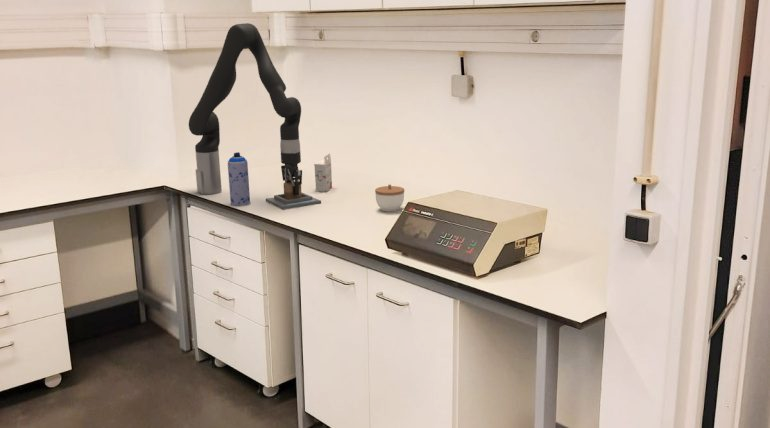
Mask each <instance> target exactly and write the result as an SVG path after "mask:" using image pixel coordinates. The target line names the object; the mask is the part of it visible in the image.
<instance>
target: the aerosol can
mask: <svg viewBox="0 0 770 428" xmlns="http://www.w3.org/2000/svg"><path fill="white" fill-rule="evenodd" d="M248 163H249V162H248V160H247V159H246V158H245V157H244V156H242V155H241V152H237V151H236V152H233V156H232V157H230V158H229V159H228V160H227V171H228V172H227V174H228V185H229V186H228V187H229V197H230V202H229V205H230V206H232V207H245V206H246V207H247V206H250V205H251V203H252V202H251V194H250V178H249V167H248V166H249V165H248Z"/></svg>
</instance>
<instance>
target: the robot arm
mask: <svg viewBox="0 0 770 428" xmlns="http://www.w3.org/2000/svg"><path fill="white" fill-rule="evenodd" d="M247 49H248V50H249V51H250V53H251V54H252V55H253V57H254V59H255V62H256V66H257V71H258V77H259V78H260V81H261V83H262V85H263V87H264V88H265V90H266V92H267V93H268V95H269V98H270V101H271V103H272V107H273V110H274V111H275V113H276V114H277V115H278V116H279V117H281V118H284V122H283V123H282V124H280V128H279V134H280V137H279V138H280V146H279V147H280V162H281V165H280V168H281V175H282V176H281V177H282V181H284V183H288V182H292V184H293V195H294V196H296V195H299V185H301V186H302V185H303V184H302V183H303V182H302V181H303V170H302V169H299V164H301V162H302V159H301V157H302V156H301V142H300V131H299V126H300V121H301V116H302V105H301V102H300V101H299V100H298V98H297V97H293V96H290V97H287V96H286V94H285V92H286V90H287V87H286V84H285V82H284V80H283V78H282V77H281V75H280V74H279V73H278V71H277V68H276V67H275V65H274V63H273V61H272V59H271V57H270V54H269V53H268V50H267V48H266V45H265V43H264V41H263V38H262V36H261V34H260V32H259V29H258V28H257V26H255V25H254V24H252V23H249V22H247V23H236V24H234V25H232V26H231V27H230V28H229V29H228V30H227V34H226V37H225V39H224V42H223V46H222V49H221V52H220V54H219V57H218V58H217V62H216V65H214V66H215V67H214V68H213V70H212V73H211V74H210V77H209V79H208V81H207V85H206V86H205V88H204V91H203V93H202V95H201V97H200V99H199V101H198V103H197V105H196V106H195V108H194V110H193V111H192V113H191V114H190V117H189V120H188V130H189V131H190V133H191V134H192V135H194V136H196V137H198V136H202V137H201V138H200V140H199V141H198V142H197V143H196V144H195V145H194V146H195V147H194V149H195V161H196V169H195V176H196V177H195V179H196V181H195V182H196V190H197V191H196V192H197V193H199V194H200V193H201V195H214V194H218V193H221V192H222V191H223V189H222V177H221V164H220V153H219V152H220V151H219V146H220V141H221V137H220V136H221V135H220V132H221V131H220V130H221V129H220V122H219V118H218V115H217V114H216V113H215V112H214V110H216V108H217V107H218V106H219V105H220V104H221V103H222V102H223V101H225V99H227V98H228V96H229V95H230V93H231V92H232V90H233V87H234V85H235V84H236V83H235V82H236V80H237V67H236V65H237V63H238V62H237V61H238V59H239V57H240V55H241V53H242V52H243V50H247ZM294 181H295V182H294Z"/></svg>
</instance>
